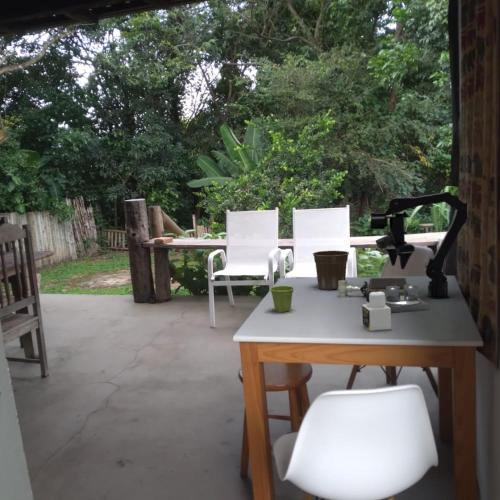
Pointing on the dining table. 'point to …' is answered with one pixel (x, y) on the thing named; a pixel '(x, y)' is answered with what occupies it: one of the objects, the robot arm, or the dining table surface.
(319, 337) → the dining table surface
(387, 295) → the steel spacer
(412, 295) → the cylinder
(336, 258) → the plant pot
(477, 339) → the dining table surface
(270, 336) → the dining table surface
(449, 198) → the robot arm
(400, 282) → the hardcover book
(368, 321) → the medicine bottle
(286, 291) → the plant pot
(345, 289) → the valve
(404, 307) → the dial scale
